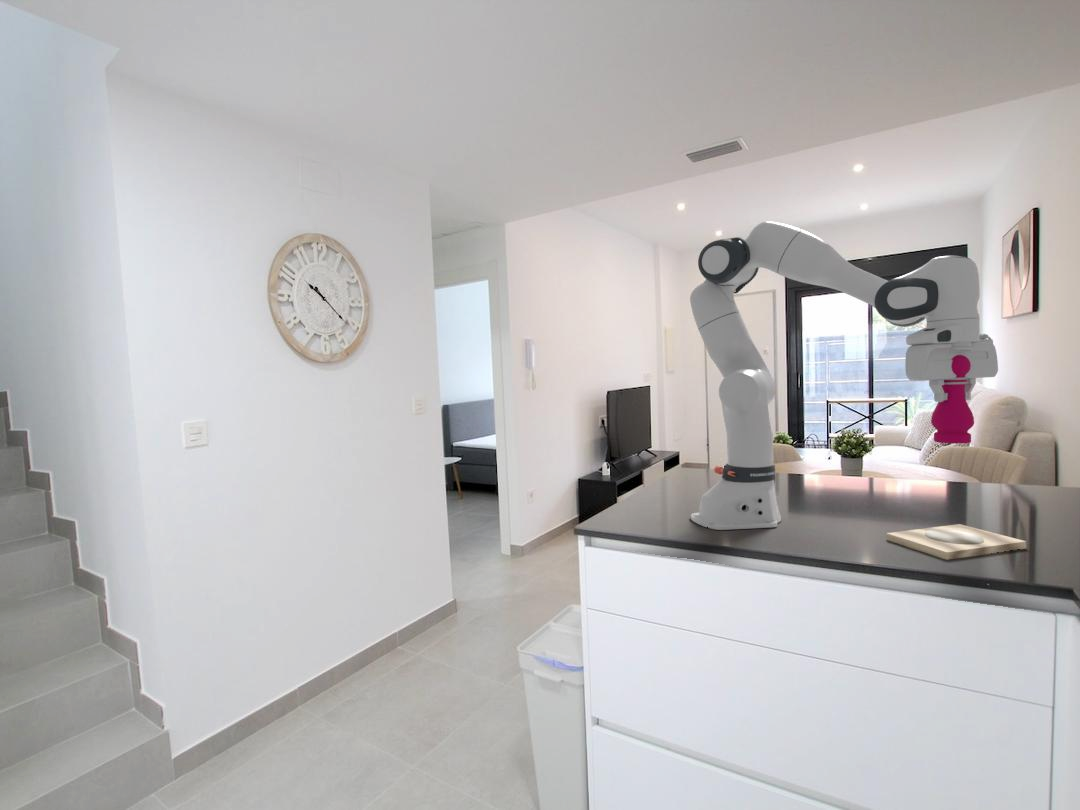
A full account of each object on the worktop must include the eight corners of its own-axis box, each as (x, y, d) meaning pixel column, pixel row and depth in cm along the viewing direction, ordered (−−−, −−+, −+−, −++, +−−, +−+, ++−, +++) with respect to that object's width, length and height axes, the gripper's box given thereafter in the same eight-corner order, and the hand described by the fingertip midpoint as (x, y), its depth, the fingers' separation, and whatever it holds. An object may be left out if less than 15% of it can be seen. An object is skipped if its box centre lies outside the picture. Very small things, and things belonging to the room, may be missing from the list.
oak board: (946, 559, 107) (946, 551, 107) (886, 539, 121) (886, 532, 121) (1026, 548, 111) (1026, 540, 111) (959, 530, 125) (959, 523, 125)
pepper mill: (981, 443, 111) (982, 344, 110) (941, 444, 112) (941, 346, 111) (962, 439, 118) (962, 346, 117) (924, 439, 119) (924, 347, 118)
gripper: (977, 334, 119) (976, 398, 120) (899, 337, 115) (899, 402, 115) (1007, 332, 113) (1007, 399, 114) (926, 334, 109) (926, 404, 109)
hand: (952, 401), depth 115 cm, fingers closed on pepper mill, 5 cm apart
